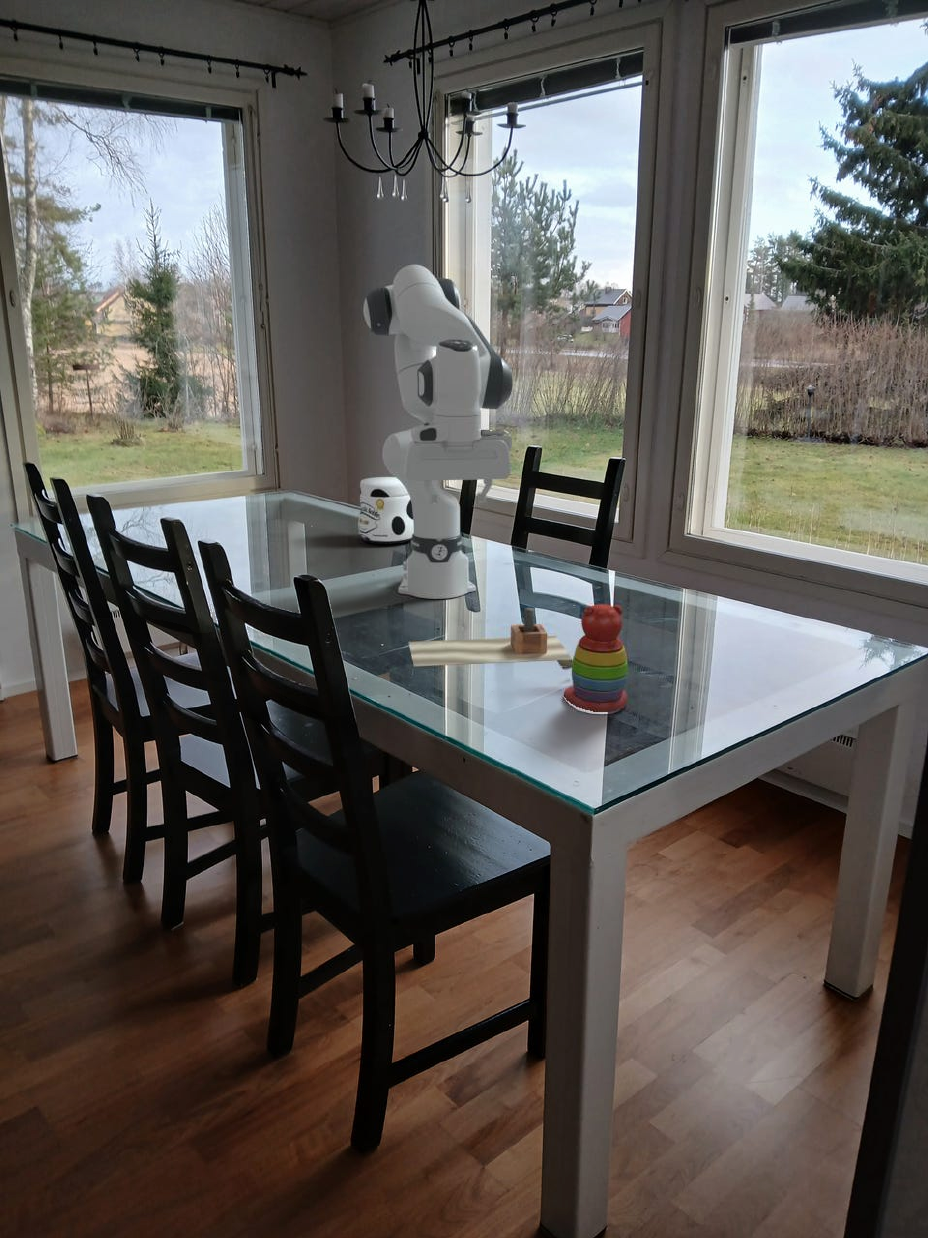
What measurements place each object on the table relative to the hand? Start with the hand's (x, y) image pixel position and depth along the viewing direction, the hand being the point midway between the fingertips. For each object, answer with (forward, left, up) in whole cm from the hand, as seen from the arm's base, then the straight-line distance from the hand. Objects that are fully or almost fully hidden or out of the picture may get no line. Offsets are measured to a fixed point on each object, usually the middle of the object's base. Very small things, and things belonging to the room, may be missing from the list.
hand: (457, 502), depth 181 cm
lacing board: (+8, +5, -29) cm, 30 cm away
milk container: (-97, -9, -29) cm, 102 cm away
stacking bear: (+33, +20, -29) cm, 49 cm away
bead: (+8, +13, -28) cm, 31 cm away
